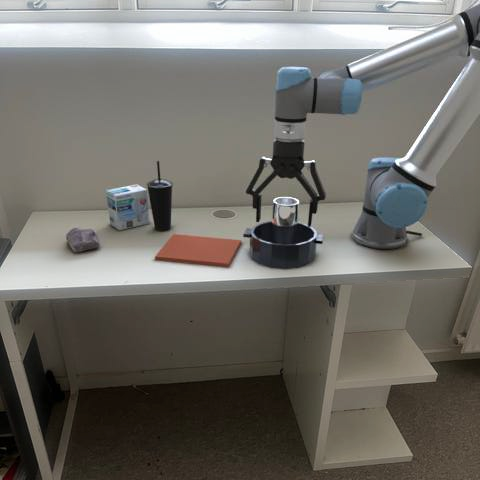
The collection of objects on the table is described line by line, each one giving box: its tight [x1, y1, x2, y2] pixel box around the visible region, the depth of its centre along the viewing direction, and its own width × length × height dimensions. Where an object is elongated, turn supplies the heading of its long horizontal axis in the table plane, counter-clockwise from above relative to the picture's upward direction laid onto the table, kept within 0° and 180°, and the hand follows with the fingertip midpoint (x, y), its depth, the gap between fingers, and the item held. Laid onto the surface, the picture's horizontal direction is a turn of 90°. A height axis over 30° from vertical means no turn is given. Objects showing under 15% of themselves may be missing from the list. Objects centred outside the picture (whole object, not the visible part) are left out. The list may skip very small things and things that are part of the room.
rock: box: [65, 227, 101, 254], centre depth 140 cm, size 8×11×5 cm
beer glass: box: [271, 196, 300, 244], centre depth 134 cm, size 7×7×15 cm
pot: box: [242, 220, 325, 270], centre depth 136 cm, size 21×18×6 cm
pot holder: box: [154, 233, 242, 268], centre depth 139 cm, size 20×16×1 cm
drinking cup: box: [146, 160, 174, 232], centre depth 148 cm, size 8×8×20 cm
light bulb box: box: [105, 183, 150, 231], centre depth 153 cm, size 11×7×11 cm, turn 128°
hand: (283, 222), depth 133 cm, fingers open, 13 cm apart
